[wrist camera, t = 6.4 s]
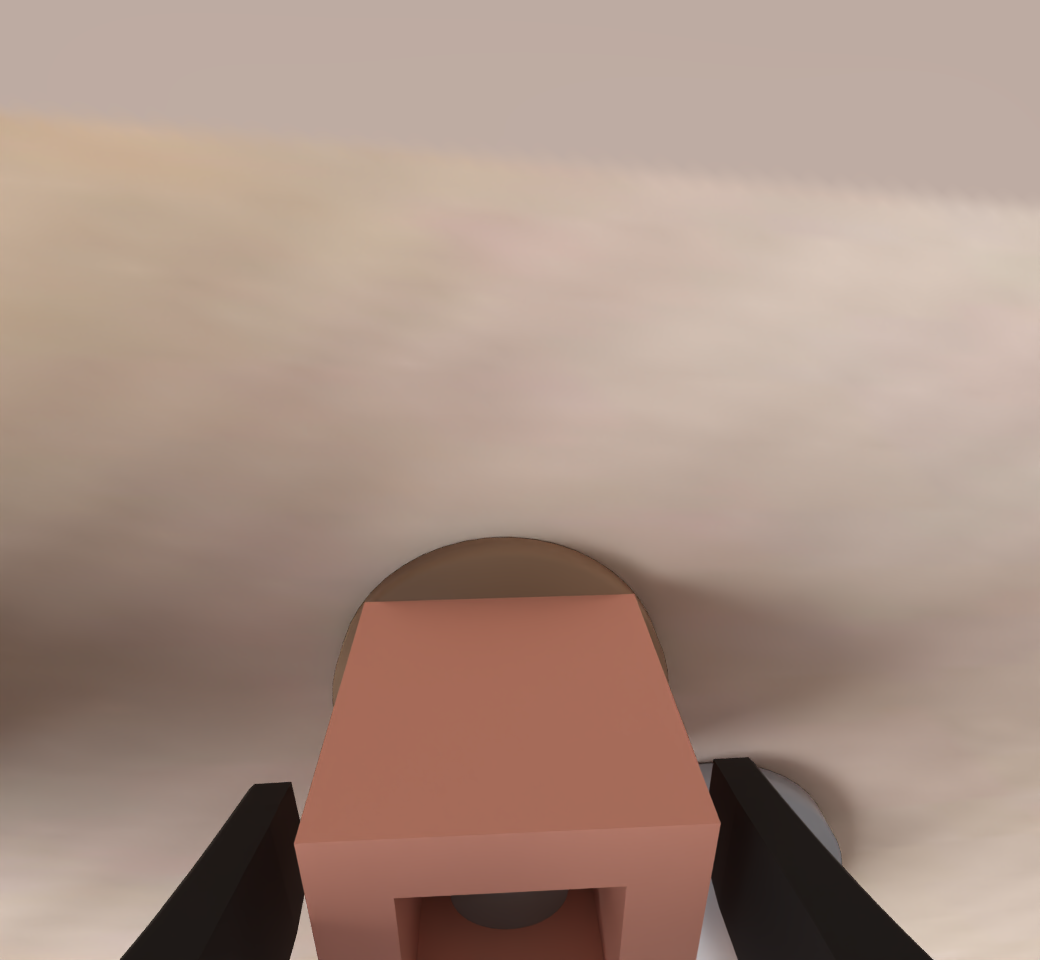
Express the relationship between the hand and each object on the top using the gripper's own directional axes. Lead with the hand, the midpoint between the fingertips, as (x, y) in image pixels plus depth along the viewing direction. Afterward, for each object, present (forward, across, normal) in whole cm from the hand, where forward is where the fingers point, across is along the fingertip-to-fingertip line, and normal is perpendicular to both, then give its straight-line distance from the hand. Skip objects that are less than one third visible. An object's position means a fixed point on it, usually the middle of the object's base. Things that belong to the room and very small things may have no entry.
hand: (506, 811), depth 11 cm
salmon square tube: (+3, 0, 0) cm, 3 cm away
